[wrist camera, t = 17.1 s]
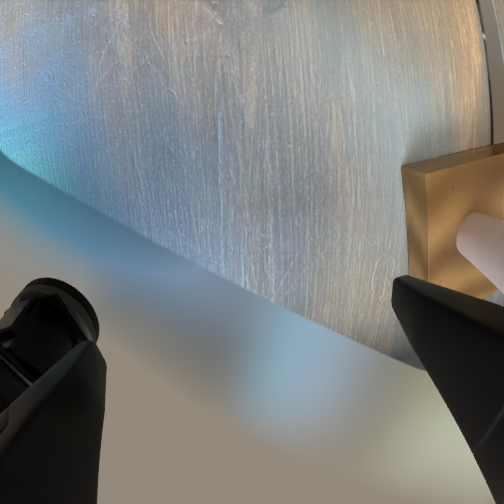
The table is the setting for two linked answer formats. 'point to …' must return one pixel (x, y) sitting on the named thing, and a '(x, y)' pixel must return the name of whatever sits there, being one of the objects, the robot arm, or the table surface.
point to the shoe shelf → (451, 214)
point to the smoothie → (483, 245)
